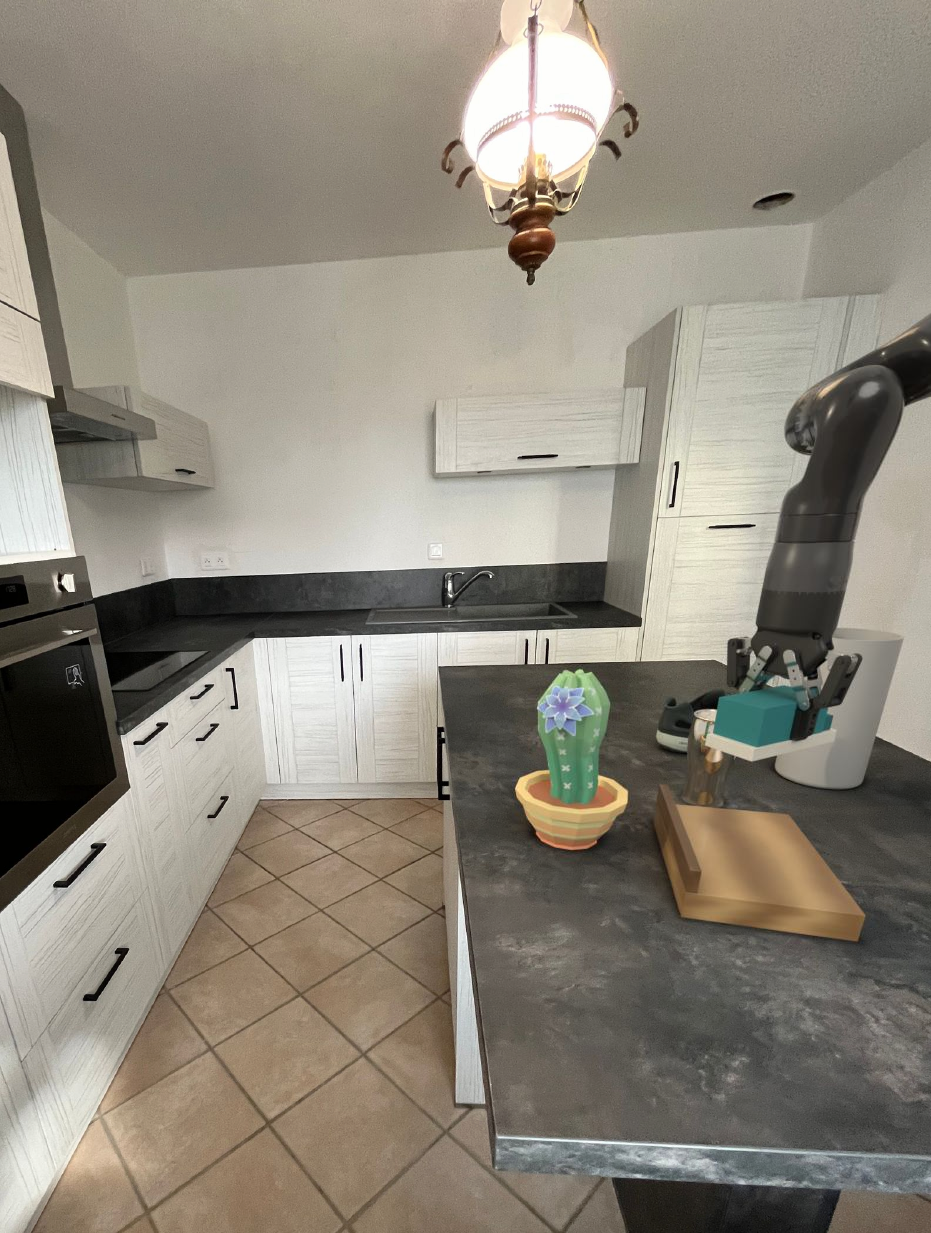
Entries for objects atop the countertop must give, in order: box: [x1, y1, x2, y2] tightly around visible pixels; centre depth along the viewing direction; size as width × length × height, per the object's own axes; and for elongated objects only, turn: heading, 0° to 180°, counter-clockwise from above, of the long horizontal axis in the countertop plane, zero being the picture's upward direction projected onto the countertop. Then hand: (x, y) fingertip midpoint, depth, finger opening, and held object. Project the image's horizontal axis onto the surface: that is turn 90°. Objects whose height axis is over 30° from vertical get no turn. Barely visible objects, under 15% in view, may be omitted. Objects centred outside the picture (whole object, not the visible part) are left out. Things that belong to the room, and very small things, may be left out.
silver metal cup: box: [681, 709, 737, 808], centre depth 93 cm, size 7×7×15 cm
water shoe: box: [655, 688, 736, 754], centre depth 118 cm, size 10×29×12 cm, turn 104°
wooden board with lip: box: [653, 783, 866, 942], centre depth 75 cm, size 17×24×7 cm
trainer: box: [705, 684, 837, 762], centre depth 70 cm, size 14×6×6 cm, turn 112°
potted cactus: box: [514, 668, 629, 851], centre depth 82 cm, size 15×15×25 cm
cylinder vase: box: [774, 627, 905, 790], centre depth 100 cm, size 12×12×25 cm
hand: (771, 731), depth 70 cm, fingers closed on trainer, 5 cm apart
